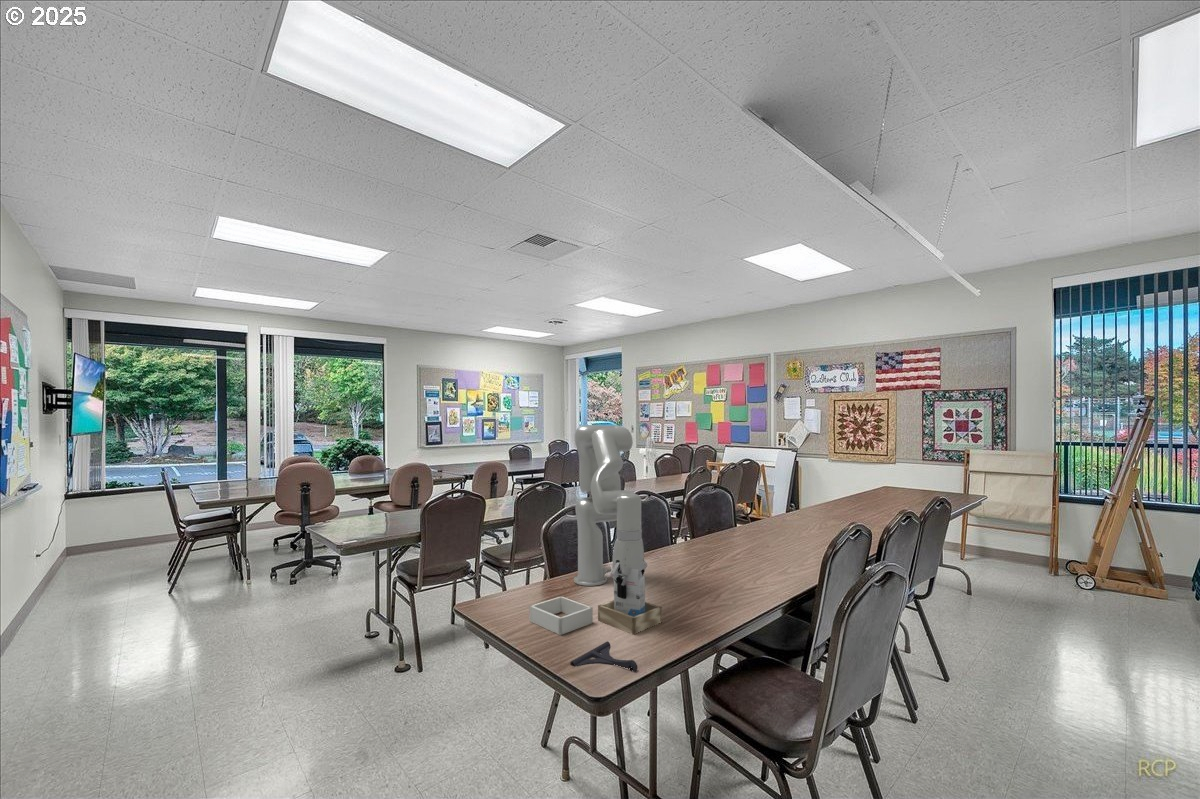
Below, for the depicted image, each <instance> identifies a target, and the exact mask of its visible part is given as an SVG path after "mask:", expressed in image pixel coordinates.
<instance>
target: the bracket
mask: <svg viewBox="0 0 1200 799" xmlns="http://www.w3.org/2000/svg"><path fill="white" fill-rule="evenodd" d="M610 649H611V643H610V642H609V641H605V642H603V643H602V644H599V645H598V646H596V647H595V648H593V649H591V650H589V651H587V652H585V653H584V654H582V655H579V656H578V657H577V658H575V659H573V660H571V661H570V662H569V664H570V666H572V665H573V666H574V667H580V666H585V665H590V664H591V665H592V664H607V665H613V664H615V665H614V666H616V665H618V666H621V667H625V668H628V669H629V668H630V667H632V668H633V671H635V670H636V671H638V664H637V662H636V661H635V660H633V659H629V660H626V659H619V658H618V659H616V658H614V657H612V656H611V654H610ZM618 666H617V667H618ZM621 667H620V668H621ZM630 669H631V668H630ZM636 671H635V672H636Z"/></svg>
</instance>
